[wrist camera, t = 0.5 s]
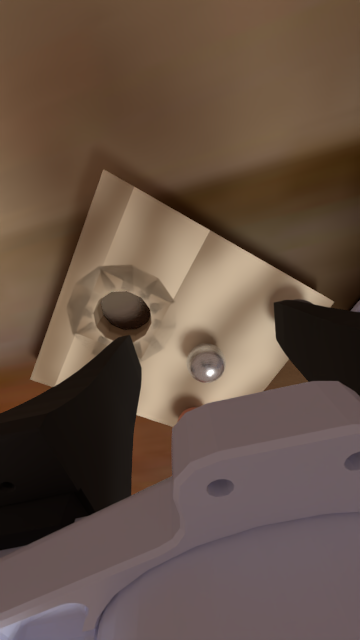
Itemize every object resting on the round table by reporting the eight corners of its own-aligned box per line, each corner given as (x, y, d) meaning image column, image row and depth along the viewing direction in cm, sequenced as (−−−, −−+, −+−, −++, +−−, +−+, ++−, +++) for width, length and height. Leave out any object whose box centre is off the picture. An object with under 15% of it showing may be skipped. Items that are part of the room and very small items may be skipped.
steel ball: (227, 345, 21) (238, 366, 18) (209, 372, 22) (216, 396, 19) (196, 330, 20) (201, 350, 17) (178, 359, 21) (181, 383, 18)
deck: (316, 292, 22) (334, 301, 20) (216, 424, 28) (221, 443, 26) (111, 174, 18) (103, 168, 15) (43, 363, 24) (30, 379, 21)
